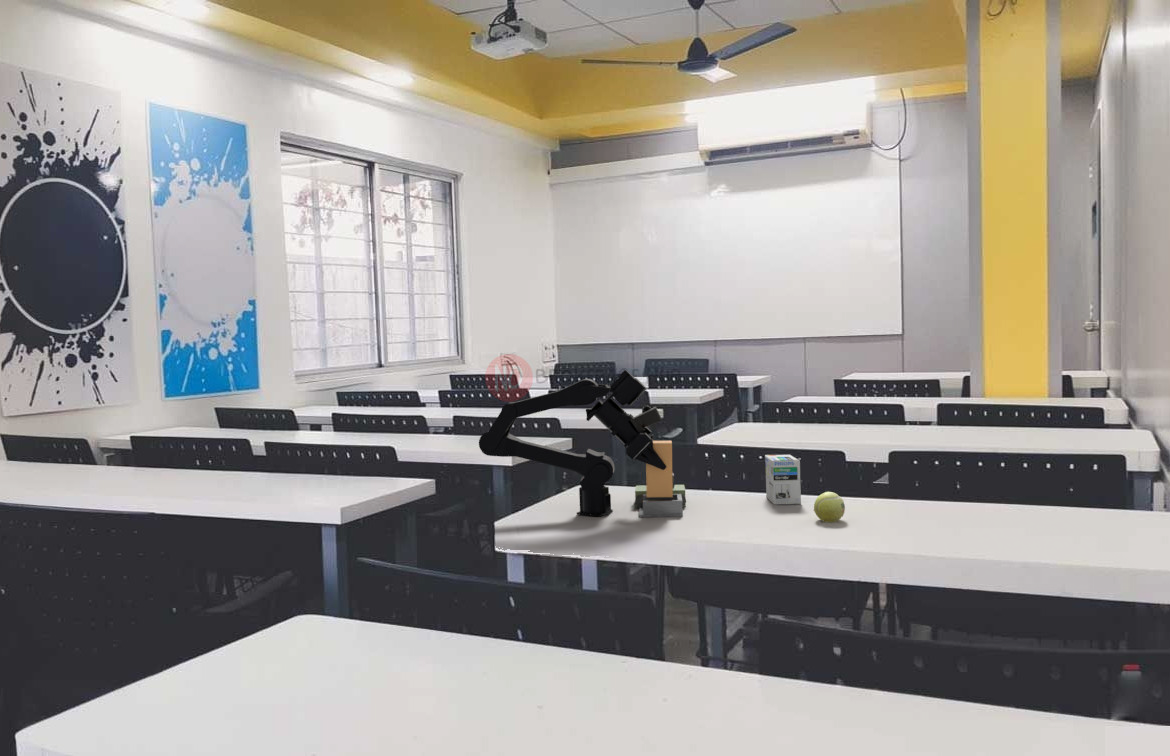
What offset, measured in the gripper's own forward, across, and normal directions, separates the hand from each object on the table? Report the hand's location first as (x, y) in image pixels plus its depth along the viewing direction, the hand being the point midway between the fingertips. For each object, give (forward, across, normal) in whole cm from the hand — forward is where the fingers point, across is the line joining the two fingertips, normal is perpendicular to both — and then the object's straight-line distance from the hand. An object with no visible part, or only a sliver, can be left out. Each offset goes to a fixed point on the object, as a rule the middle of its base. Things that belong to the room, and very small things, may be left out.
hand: (665, 466), depth 210 cm
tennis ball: (+32, -12, -17) cm, 39 cm away
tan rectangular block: (+4, 0, +6) cm, 7 cm away
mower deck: (+7, +10, +8) cm, 15 cm away
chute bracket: (+7, 0, +8) cm, 11 cm away
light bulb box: (+28, +12, -13) cm, 33 cm away
